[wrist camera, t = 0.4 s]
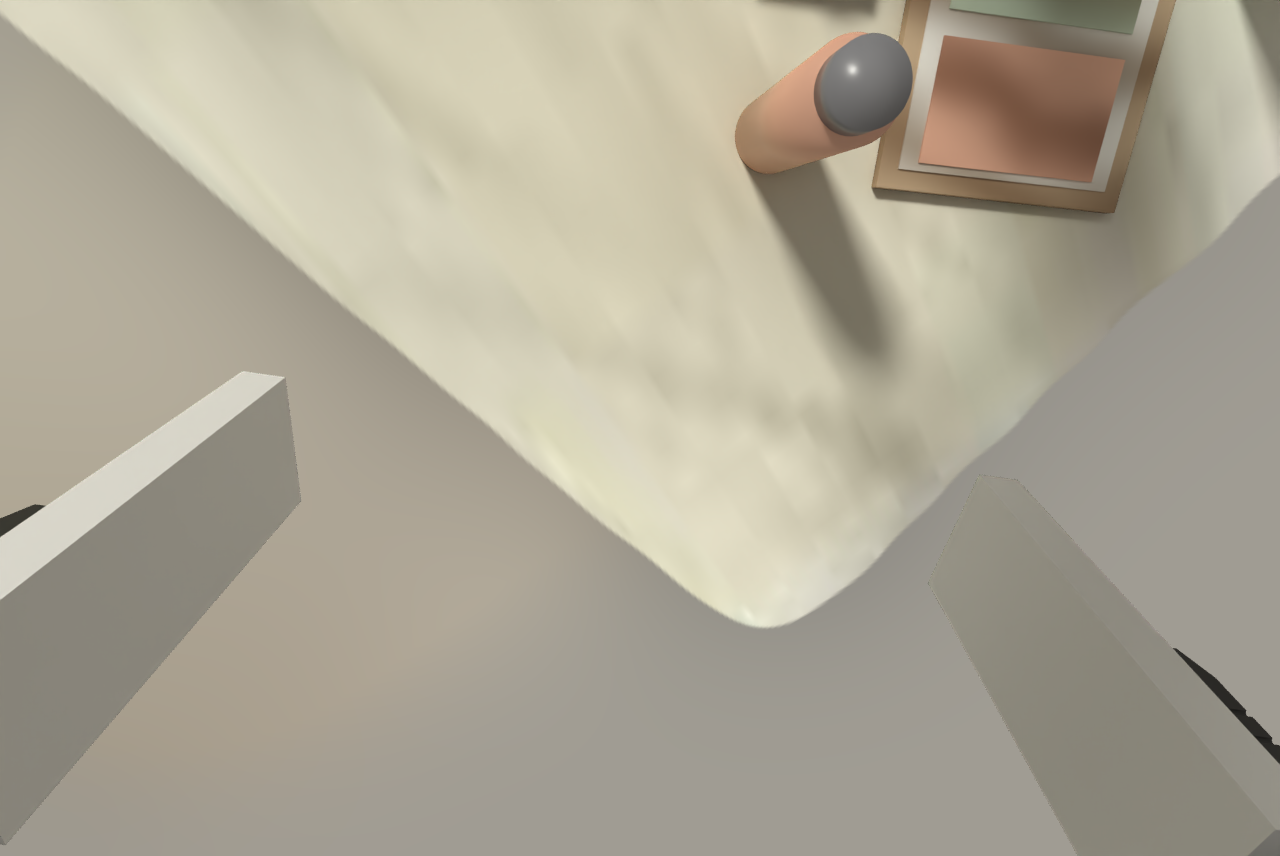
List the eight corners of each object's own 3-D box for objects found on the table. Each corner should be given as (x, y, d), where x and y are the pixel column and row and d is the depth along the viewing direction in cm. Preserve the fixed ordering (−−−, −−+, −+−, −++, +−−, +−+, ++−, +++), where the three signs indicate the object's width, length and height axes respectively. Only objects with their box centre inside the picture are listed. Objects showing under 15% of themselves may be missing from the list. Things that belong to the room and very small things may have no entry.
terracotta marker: (740, 91, 33) (826, 12, 21) (811, 100, 33) (934, 27, 21) (730, 170, 34) (807, 136, 22) (799, 177, 34) (910, 148, 23)
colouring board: (937, -170, 30) (946, -181, 29) (1202, -125, 32) (1217, -133, 31) (871, 187, 35) (878, 186, 34) (1105, 213, 36) (1117, 212, 36)
